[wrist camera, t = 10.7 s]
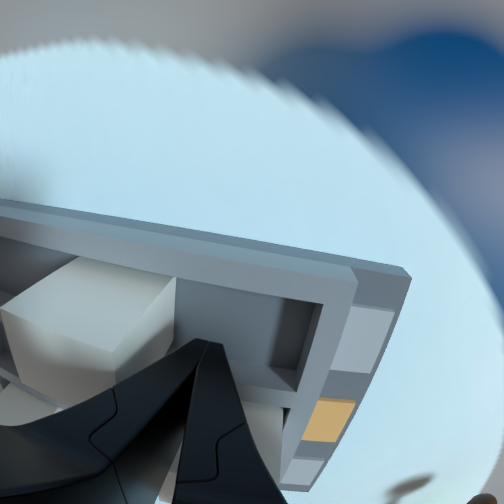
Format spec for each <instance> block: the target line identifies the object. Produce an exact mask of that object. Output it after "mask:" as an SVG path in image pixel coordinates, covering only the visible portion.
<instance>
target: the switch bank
mask: <svg viewBox="0 0 504 504" xmlns="http://www.w3.org/2000/svg"><path fill="white" fill-rule="evenodd" d="M79 256H82V257H86V258H90V259H95V260H99V261H103V262H108V263H112V264H117V265H121V266H126V267H130V268H135V269H139V270H144V271H149V272H153V273H158V274H163V275H168V276H173V277H176V290H175V310H174V336H173V341H172V343H171V345H170V347H169V348H168V350H167V352H166V354H165V356H166V355H168V354H169V353H171V352H173V351H174V350H176V349H178V348H179V347H181V346H183V345H184V344H186V343H188V342H189V341H191V340H193V339H194V338H200V339H204V340H208V341H213V342H218V343H222V344H223V345H224V348H225V351H226V355H227V358H228V361H229V365H230V368H231V371H232V375H233V378H234V381H235V384H236V388H237V391H238V394H239V397H240V400H241V401H246V402H252V403H258V404H264V405H271V406H278V407H283V427H282V449H281V468H280V485H279V490H286V491H300V492H309V490H310V489H311V488H312V486H313V485H314V483H315V481H316V480H317V478H318V477H319V475H320V474H321V472H322V471H323V469H324V467H325V466H326V464H327V463H328V461H329V459H330V458H331V456H332V454H333V453H334V451H335V449H336V448H337V446H338V444H339V442H340V441H341V439H342V437H343V435H344V434H345V432H346V430H347V428H348V426H349V424H350V423H351V421H352V419H353V417H354V415H355V413H356V411H357V409H358V407H359V405H360V403H361V401H362V399H363V397H364V395H365V393H366V391H367V389H368V387H369V385H370V383H371V381H372V379H373V376H374V374H375V372H376V370H377V368H378V365H379V363H380V361H381V359H382V356H383V354H384V352H385V349H386V347H387V345H388V342H389V340H390V337H391V335H392V332H393V330H394V327H395V325H396V322H397V319H398V317H399V314H400V311H401V309H402V306H403V303H404V300H405V297H406V295H407V292H408V289H409V286H410V283H411V280H412V277H411V276H410V275H409V274H408V273H407V272H406V271H405V270H404V269H403V268H402V267H398V266H393V265H388V264H382V263H377V262H372V261H366V260H361V259H356V258H350V257H345V256H339V255H334V254H328V253H323V252H317V251H312V250H306V249H301V248H295V247H290V246H284V245H278V244H273V243H267V242H261V241H256V240H250V239H244V238H239V237H233V236H227V235H221V234H216V233H210V232H204V231H198V230H192V229H186V228H180V227H174V226H168V225H162V224H156V223H150V222H144V221H138V220H132V219H126V218H120V217H114V216H108V215H101V214H95V213H89V212H83V211H76V210H70V209H64V208H57V207H51V206H44V205H38V204H31V203H25V202H18V201H12V200H5V199H0V307H1V306H3V305H4V304H6V303H7V302H9V301H10V300H12V299H13V298H15V297H16V296H18V295H19V294H21V293H22V292H24V291H25V290H27V289H28V288H30V287H31V286H33V285H34V284H36V283H37V282H39V281H40V280H42V279H44V278H45V277H47V276H48V275H50V274H52V273H53V272H55V271H56V270H58V269H60V268H61V267H63V266H64V265H66V264H68V263H69V262H71V261H73V260H74V259H76V258H78V257H79ZM10 382H12V383H13V384H15V385H17V386H19V387H20V388H22V389H24V390H26V391H27V392H29V393H31V394H33V395H35V396H37V397H39V398H41V399H43V400H45V401H47V402H49V403H51V404H53V405H55V406H57V407H59V408H61V409H63V410H65V409H67V408H70V407H69V406H67V405H64V404H62V403H60V402H58V401H56V400H54V399H52V398H50V397H48V396H46V395H44V394H42V393H40V392H38V391H36V390H34V389H32V388H30V387H28V386H26V385H25V384H23V383H21V380H20V377H19V374H18V372H17V369H16V366H15V363H14V360H13V356H12V353H11V350H10V346H9V343H8V340H7V336H6V332H5V328H4V325H3V320H2V316H1V312H0V393H1V392H2V391H3V390H4V389H5V387H6V386H7V385H8V384H9V383H10Z"/></svg>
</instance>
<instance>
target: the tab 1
mask: <svg viewBox="0 0 504 504" xmlns="http://www.w3.org/2000/svg"><path fill="white" fill-rule="evenodd" d="M62 410H63V409H61V408H59V407H57V406H55V405H53V404H51V403H49V402H47V401H45V400H43V399H41V398H39V397H37V396H35V395H33V394H31V393H29V392H27V391H26V390H24V389H22V388H20V387H19V386H17V385H15V384H13V383H12V382H10V383H9V384H8V385H7V386H6V387H5V389H4V390H3V391H2V392H1V393H0V425H5V426H17V425H23V424H26V423H30V422H33V421H35V420H38V419H41V418H43V417H46V416H49V415H52V414H54V413H57V412H59V411H62Z"/></svg>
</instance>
